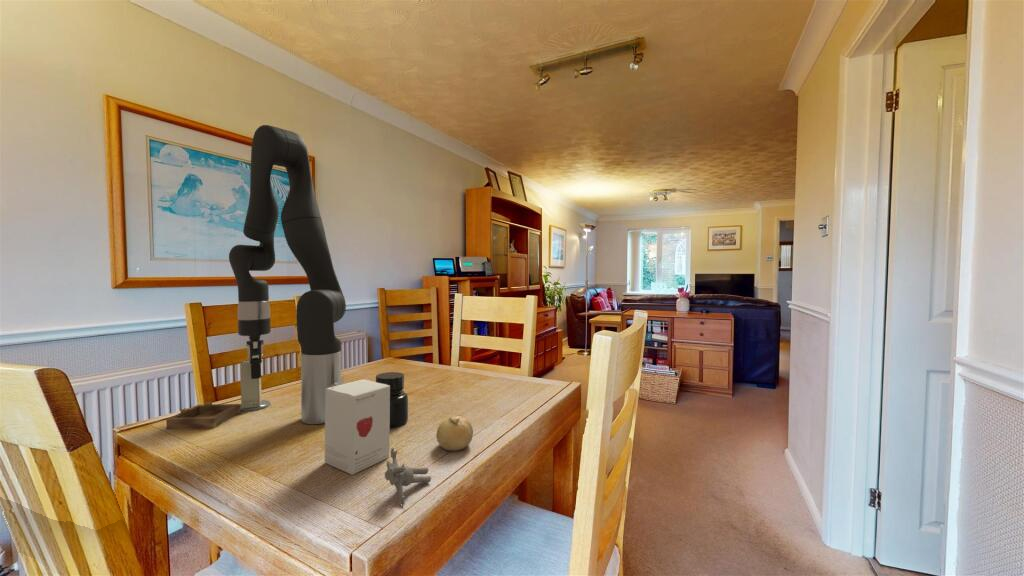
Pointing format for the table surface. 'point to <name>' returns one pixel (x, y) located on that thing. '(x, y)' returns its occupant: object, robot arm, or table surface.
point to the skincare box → (249, 387)
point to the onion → (454, 433)
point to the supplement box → (357, 425)
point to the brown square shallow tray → (190, 420)
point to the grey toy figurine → (404, 475)
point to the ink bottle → (395, 397)
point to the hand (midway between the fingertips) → (255, 375)
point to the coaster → (263, 405)
